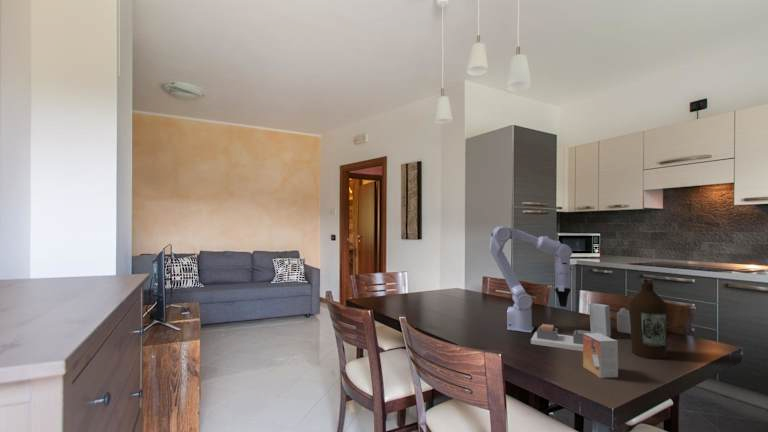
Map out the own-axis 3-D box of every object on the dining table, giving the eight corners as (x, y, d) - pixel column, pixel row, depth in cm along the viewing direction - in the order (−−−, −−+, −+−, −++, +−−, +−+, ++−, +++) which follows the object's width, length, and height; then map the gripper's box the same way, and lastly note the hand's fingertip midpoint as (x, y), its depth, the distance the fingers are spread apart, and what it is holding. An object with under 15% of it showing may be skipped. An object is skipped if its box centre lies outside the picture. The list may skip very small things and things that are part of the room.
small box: (582, 367, 114) (582, 332, 114) (600, 366, 114) (599, 332, 115) (600, 378, 106) (599, 341, 106) (618, 377, 106) (618, 340, 107)
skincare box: (611, 336, 145) (610, 305, 145) (606, 338, 142) (606, 306, 142) (594, 333, 150) (593, 302, 150) (589, 335, 147) (588, 304, 147)
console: (530, 343, 137) (530, 331, 137) (535, 335, 147) (535, 323, 147) (600, 353, 126) (600, 340, 126) (600, 343, 136) (600, 331, 136)
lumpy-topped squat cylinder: (614, 330, 153) (613, 309, 153) (625, 325, 161) (625, 304, 161) (644, 336, 145) (643, 314, 145) (654, 330, 153) (653, 308, 153)
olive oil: (624, 348, 131) (623, 276, 132) (659, 350, 129) (657, 277, 129) (637, 358, 121) (636, 281, 121) (675, 361, 119) (673, 282, 119)
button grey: (577, 342, 133) (577, 332, 133) (578, 339, 136) (577, 329, 136) (590, 344, 131) (590, 334, 131) (590, 341, 134) (590, 331, 134)
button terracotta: (541, 335, 139) (540, 326, 139) (542, 333, 142) (542, 323, 142) (552, 337, 137) (552, 327, 137) (553, 334, 140) (553, 325, 140)
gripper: (572, 275, 145) (572, 311, 145) (574, 271, 158) (575, 303, 158) (552, 274, 149) (553, 309, 149) (556, 270, 161) (556, 302, 161)
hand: (563, 306), depth 153 cm, fingers closed
